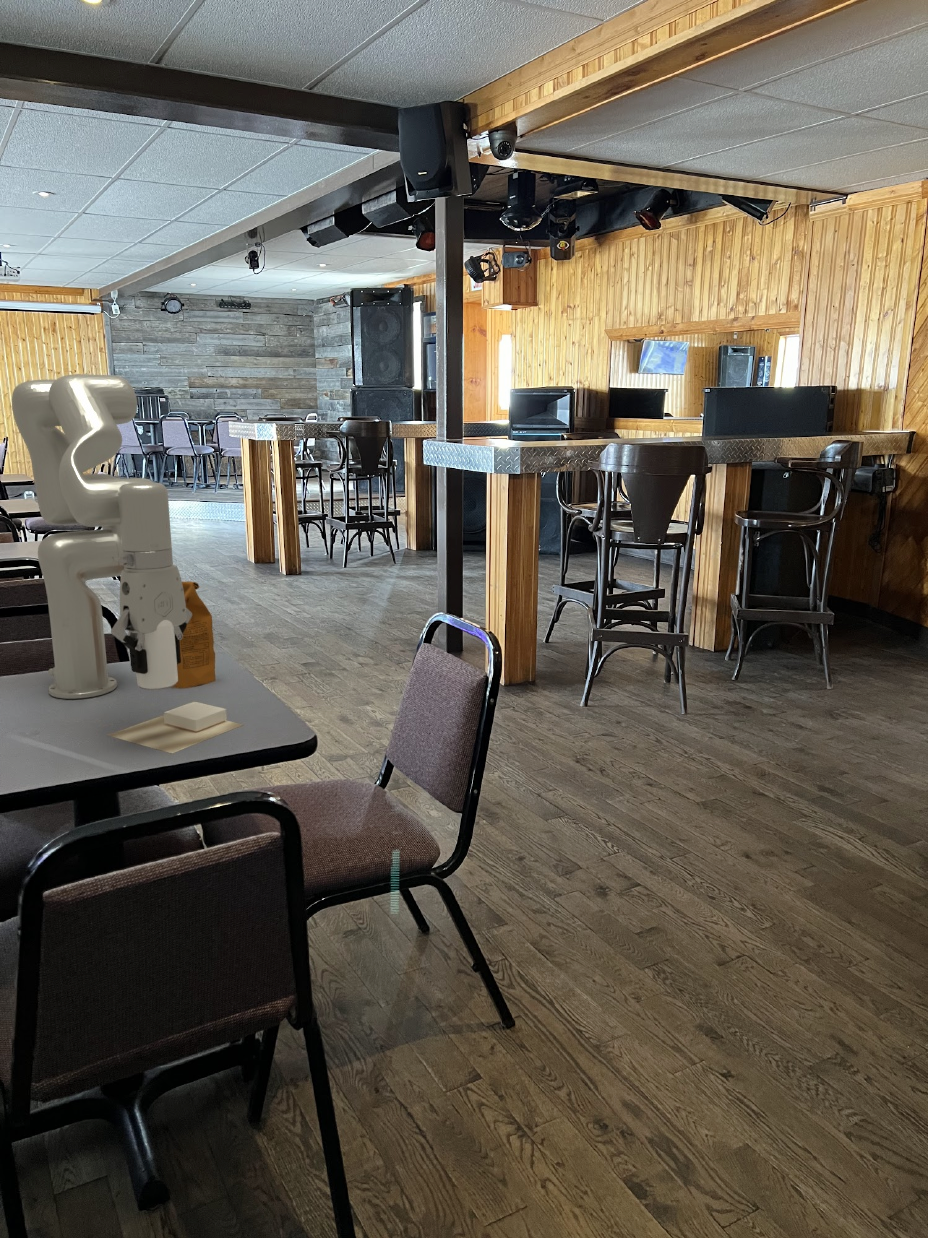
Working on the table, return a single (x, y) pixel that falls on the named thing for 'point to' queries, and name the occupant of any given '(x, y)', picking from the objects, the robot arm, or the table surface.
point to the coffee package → (196, 643)
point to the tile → (195, 716)
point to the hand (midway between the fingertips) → (156, 666)
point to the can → (159, 658)
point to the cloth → (170, 734)
